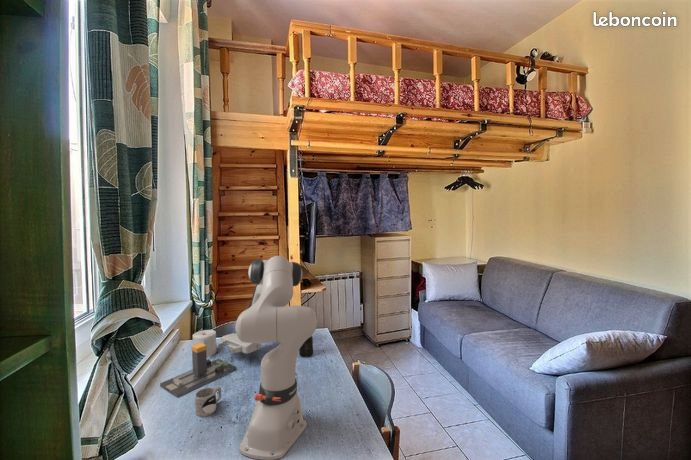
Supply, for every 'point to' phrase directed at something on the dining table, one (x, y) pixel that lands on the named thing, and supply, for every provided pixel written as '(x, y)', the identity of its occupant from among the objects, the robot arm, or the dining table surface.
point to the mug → (206, 401)
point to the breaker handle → (199, 359)
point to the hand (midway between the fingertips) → (224, 348)
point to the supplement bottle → (307, 348)
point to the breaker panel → (197, 378)
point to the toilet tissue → (206, 340)
